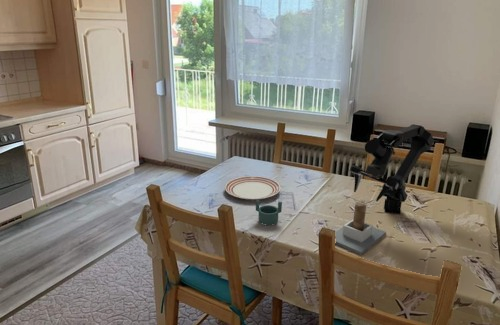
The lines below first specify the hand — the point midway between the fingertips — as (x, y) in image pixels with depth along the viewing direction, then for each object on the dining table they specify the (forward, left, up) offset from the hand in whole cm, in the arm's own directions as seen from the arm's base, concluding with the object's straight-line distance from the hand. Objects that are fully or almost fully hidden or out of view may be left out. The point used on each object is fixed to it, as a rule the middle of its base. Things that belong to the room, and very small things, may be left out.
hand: (365, 196), depth 145 cm
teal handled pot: (+37, +12, -13) cm, 41 cm away
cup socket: (+1, +12, -12) cm, 17 cm away
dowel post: (+1, +12, -11) cm, 16 cm away
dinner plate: (+54, -13, -13) cm, 57 cm away
